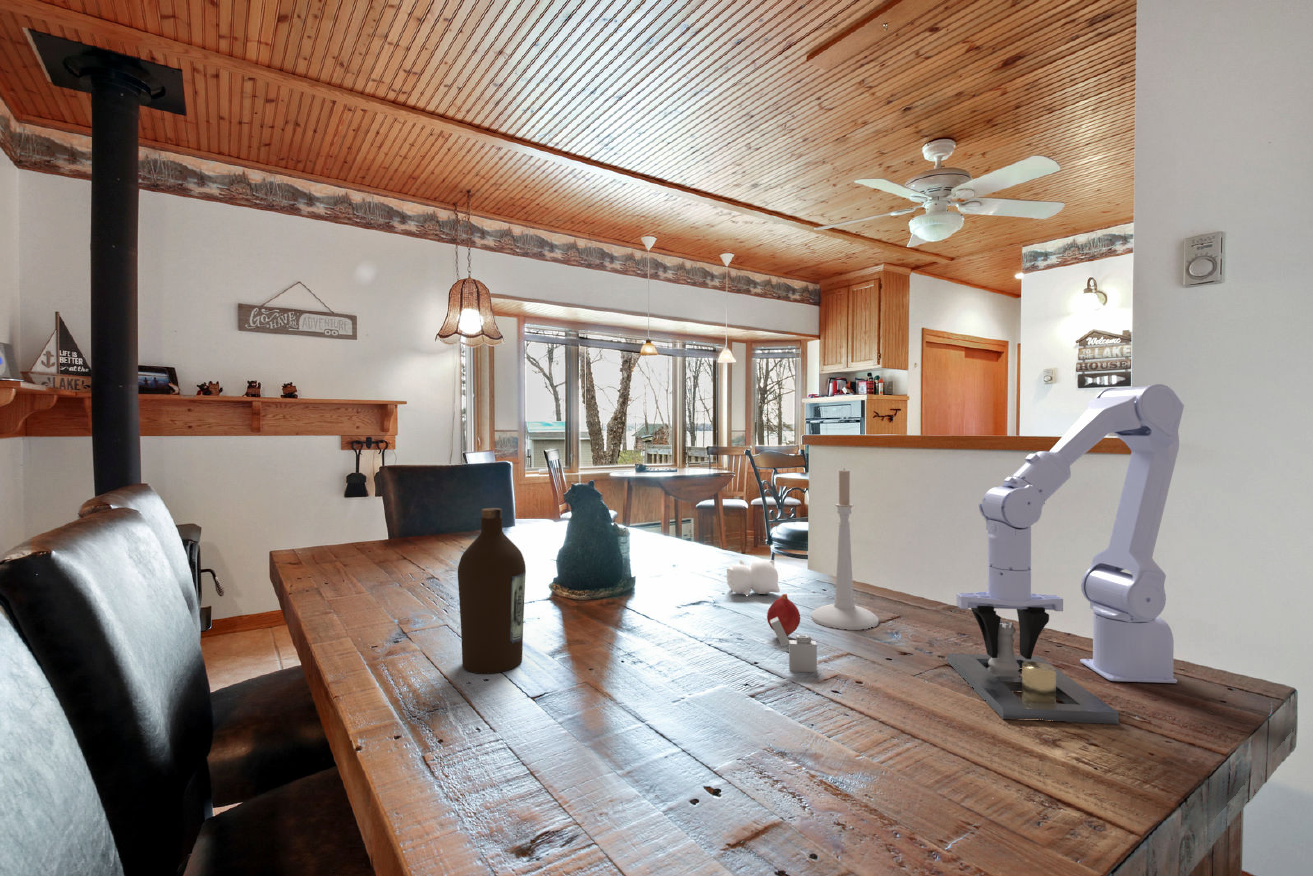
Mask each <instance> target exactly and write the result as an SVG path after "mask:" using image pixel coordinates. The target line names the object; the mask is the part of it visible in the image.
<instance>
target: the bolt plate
mask: <svg viewBox="0 0 1313 876" xmlns="http://www.w3.org/2000/svg"><path fill="white" fill-rule="evenodd" d="M946 654H947V656H946V657H947V662H948V663H949V664H950V665H951V666H952V667H953V668H954V669H955V670H956V671H957V672H958V673H959V674H960V675H961V676H960V675H959V674H958V673H957V672H956V671H955V670H954V669H953V668H952V667H951V666H950V665H949V664H948V663H947V664H948V665H949V666H950V667H951V668H952V669H953V670H954V671H955V672H956V673H957V674H958V675H959V676H960V677H961V678H962V679H963V678H964V679H965V680H966V681H965V680H964V679H963V680H964V681H965V682H966V683H967V682H968V683H969V684H970V685H969V684H968V683H967V684H968V685H969V687H971V688H972V687H973V688H974V689H973V688H972V689H973V690H974V692H976V693H977V695H979V697H980V698H981V699H982V700H983V699H984V700H986V702H987V703H988V704H989V705H990V706H991V707H992V708H993V709H992V708H991V707H990V706H989V705H988V704H987V703H986V702H985V703H986V704H987V705H988V706H989V707H990V708H991V709H992V710H993V711H994V710H995V711H996V712H997V713H998V714H999V715H1000V716H1001V717H1002V718H1001V717H1000V716H999V715H998V714H997V713H996V712H995V711H994V712H995V713H996V714H997V715H998V716H999V717H1000V718H1001V719H1002V720H1003V719H1039V720H1040V719H1041V720H1042V719H1043V720H1051V721H1052V720H1053V721H1066V722H1065V723H1075V722H1076V723H1079V724H1080V723H1081V724H1099V725H1101V724H1102V723H1103V725H1105V724H1107V725H1119V724H1120V717H1119V716H1120V715H1119V714H1120V712H1119V711H1117V710H1116V709H1115V708H1113V707H1112V706H1110V705H1109V704H1108V703H1106V702H1105V701H1103V700H1102V699H1100V698H1099V697H1098V696H1096V695H1095V694H1093V693H1092V692H1091V691H1089V690H1088V689H1086V688H1085V687H1083V686H1082V685H1081V684H1079V683H1078V682H1076V681H1075V680H1073V679H1072V678H1071V677H1069V676H1068V675H1067V674H1065V673H1064V672H1062V670H1060V669H1058V668H1057V667H1056V666H1054V665H1053V664H1051V663H1049V661H1047V660H1046V659H1044V658H1043V657H1041V656H1040V655H1032V658H1031V659H1026V658H1024V657H1023V656H1022V655H1015V654H1014V657H1015V659H1016V660H1017V661H1016V662H1017V663H1018V664H1019V667H1020V668H1022V670H1021V676H1019V677H1013V676H994V675H993V674H992V673H991V672H990V671H989V670H988V667H990V666H989V665H988V661H989V660H990V659H991V657H990V656H989V655H988V654H987V653H986V654H985V653H984V654H983V653H981V654H979V653H977V654H975V653H953V652H952V653H950V652H949V653H946ZM1012 691H1022V693H1021V698H1020V697H1019V696H1017V694H1016V693H1015V692H1012ZM1056 696H1057V697H1058V698H1059V700H1060V701H1061V700H1062V701H1063V702H1062V701H1061V702H1062V703H1057V699H1058V698H1057V697H1056ZM984 700H983V701H984ZM1022 700H1023V701H1022ZM1076 723H1075V724H1076ZM1100 723H1101V724H1100Z"/></svg>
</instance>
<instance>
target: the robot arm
mask: <svg viewBox="0 0 1313 876" xmlns="http://www.w3.org/2000/svg"><path fill="white" fill-rule="evenodd" d="M1184 407H1185V405H1184V403H1183V402H1182V401H1181V399H1180V398H1179V397H1178V395H1177V393H1175V391H1174V390H1173V389H1172V388H1171V387H1170V386H1168V385H1165V384H1162V383H1161V384H1160V383H1155V384H1150V385H1145V386H1141V385H1140V386H1131V387H1120V388H1117V387H1108V388H1104V389H1102V390H1101V391H1099V392H1098V393H1097V395H1095V397H1094V398H1093V399H1091V400H1090V401H1088V402H1087V403H1086V410H1085V411H1084V413H1082V415H1081V416H1080V417H1079V418H1078V419H1077V421H1076V422H1074V423H1073V425H1072V426H1071V427H1070V428H1069V429H1068V430H1067V431H1066V432H1065V434H1063V436H1061V438H1060V439H1059V440H1058V441H1057V442H1056V443H1055V445H1053V447H1051V449H1050V450H1049V451H1048V450H1043V451H1042V450H1041V451H1037V452H1035V453H1029V454H1028V455H1027V456H1026V457H1025V458H1024V460H1025V463H1024V464H1023V465H1021V466H1020V467H1019V468H1018V469H1017V470H1016V471H1015V472H1014V473H1013V474H1012V475H1011V476H1007V477H1006V478H1005V479H1003V483H1002V486H1000V485H999V486H994V487H992V488H990V489H989V490H988V491H987V492H986V493H984V495H983V498H982V502H981V503H978V508H979V513H980V515H981V516H982V517H983V519H984V520H985V526H986V527H985V529H986V530H987V591H975V592H957V593H956V606H957V607H958V608H959V609H961V610H968V609H970V610H971V612H972V615H973V616H974V619H975V620H976V622H977V623H978V626H979V628H980V632H981V634H982V637H983V641H984V646H985V649H986V655H989V656H990V657H992V658H997V656H998V630H999V624H1000V620H1002V617H1001V616H1000V615H998V614H997V611H996V610H997V609H1002V610H1003V609H1005V610H1008V609H1009V610H1016V612H1017V619H1018V626H1019V627H1018V628H1019V642H1018V643H1019V644H1018V646H1019V647H1018V649H1019V654H1020V655H1019V656H1023V657H1024V658H1026V659H1031V658H1032V656H1033V653H1034V649H1035V646H1036V644H1037V641H1038V639H1039V636H1040V634H1041V633H1042V631H1043V630H1044V628H1045V626H1047V624H1048V623H1049V621H1050V613H1048V612H1046V610H1049V611H1055V612H1064V598H1063V597H1060V596H1058V595H1056V594H1041V593H1032V525H1034V524H1035V523H1038V522H1039V520H1040V519H1041V515H1042V509H1043V506H1044V505H1045V504H1046V501H1047V500H1048V499H1049V498H1051V497H1052V496H1053V495H1054V494H1055V493H1056V492H1057V490H1059V489H1060V488H1061V487H1062V486H1063V485H1064V484H1065V483H1066V482H1067V481H1068V480H1069V479H1070V478H1071V472H1072V471H1071V465H1073V464H1074V463H1075V462H1077V460H1079V459H1080V458H1082V457H1083V456H1084V455H1085V454H1087V452H1089V451H1090V450H1091V449H1092V448H1093V447H1095V446H1096V445H1097V444H1098V443H1099V442H1101V441H1102V440H1103V439H1104V438H1105V437H1106V436H1108V435H1109V434H1113V435H1114V436H1116V437H1117V438H1118V439H1119V440H1121V441H1122V442H1124V444H1125V445H1127V447H1128V448H1129V449H1130V451H1131V454H1130V457H1129V461H1128V466H1127V469H1126V472H1125V473H1126V474H1125V478H1124V482H1123V486H1122V491H1121V494H1120V499H1119V502H1118V507H1117V511H1116V514H1115V519H1114V523H1113V526H1112V527H1113V528H1112V532H1111V535H1110V539H1109V543H1108V547H1107V548H1105V549H1104V550H1102V551H1100V552H1098V553H1097V554H1095V555H1094V556H1093V557H1092V561H1091V564H1090V566H1089V568H1088V569H1087V570H1086V571H1085V572H1084V574H1083V576H1082V578H1081V583H1080V588H1081V593H1082V595H1083V597H1084V598H1085V599H1086V601H1088V602H1089V608H1090V609H1091V610H1092V611H1093V612H1092V658H1080V661H1079V662H1080V663H1081V664H1082V665H1085V666H1086V667H1088V668H1089V669H1091V670H1092V671H1094V672H1095V673H1097V674H1099V675H1100V676H1101V677H1103V678H1105V679H1107V680H1108V681H1110V682H1111V681H1112V682H1134V683H1135V682H1137V683H1163V684H1165V683H1166V684H1178V679H1177V678H1175V677H1174V655H1175V654H1174V652H1175V651H1174V648H1175V647H1174V644H1175V643H1174V641H1175V640H1174V636H1173V632H1172V629H1171V627H1170V625H1169V623H1168V622H1167V621H1166V620H1164V619H1163V618H1162V617H1160V615H1161V613H1162V612H1163V611H1164V609H1165V607H1166V603H1167V602H1166V601H1167V598H1166V597H1167V596H1166V590H1165V581H1166V577H1167V575H1166V573H1165V571H1163V569H1161V567H1160V566H1159V565H1158V564H1157V563H1156V561H1155V560H1154V558H1153V555H1154V552H1155V546H1156V543H1157V540H1158V535H1159V530H1160V526H1161V523H1162V518H1163V514H1164V511H1165V510H1164V509H1165V506H1166V502H1167V498H1168V494H1169V490H1170V486H1171V481H1172V477H1173V474H1174V470H1175V465H1176V461H1177V458H1178V453H1179V448H1180V438H1179V436H1180V435H1179V428H1180V424H1181V419H1182V416H1183V411H1184V409H1185V408H1184ZM1125 570H1126V571H1128V572H1130V573H1128V572H1124V571H1125ZM995 609H996V610H995Z"/></svg>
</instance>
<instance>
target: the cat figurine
mask: <svg viewBox="0 0 1313 876" xmlns="http://www.w3.org/2000/svg"><path fill="white" fill-rule="evenodd" d="M778 581H779V574H778V570H777V569H776V568H775V560H774V559H771V560H768V561H767V560H764V559H755V560H754V561H752V562H751V563H750V565H749V567H748V565H747V564H746V563H745V561H743V560H741V559H740V560H739V563H734V564H732V565H731V566H730V567H727V568H726V582H727V585H728V588H730V590H731V591H732V592H733V593H735V594H737V593H738V595H741V594H744V596H745V595H750V593H751V591H752V592H754V593H755V594H757V593H758V594H757V595H759V594H764V595H768V594H769V593H780V592H781V589H780V587H779V585H778Z"/></svg>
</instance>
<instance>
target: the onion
mask: <svg viewBox="0 0 1313 876" xmlns="http://www.w3.org/2000/svg"><path fill="white" fill-rule="evenodd" d="M766 614H767V615H766V618H767V624H768V625H769V627H770V628H771V629H772V630H773V631H774V629H773V627H772V625H771V623H770V620H771V619H774V618H776V617H778V619H779V621H780V623H781V625H782V627H783V629H784V631H785V633H786V635H787V637H788V638H789V636H790V635H791V634H792V633H794V632H795V631H796V630H797V629H798V627H799V625H800V623H801V614H800V611H799V609H798V607H797V605H796V604H794V602H792V600H790V599H789V598H788V594H787V593H783V594H782V595H781V596H780V597H779V598H777V599H775V600H774V601H773V602H772V603H771V605H770V606H769V608H768V611H767V613H766Z"/></svg>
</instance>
